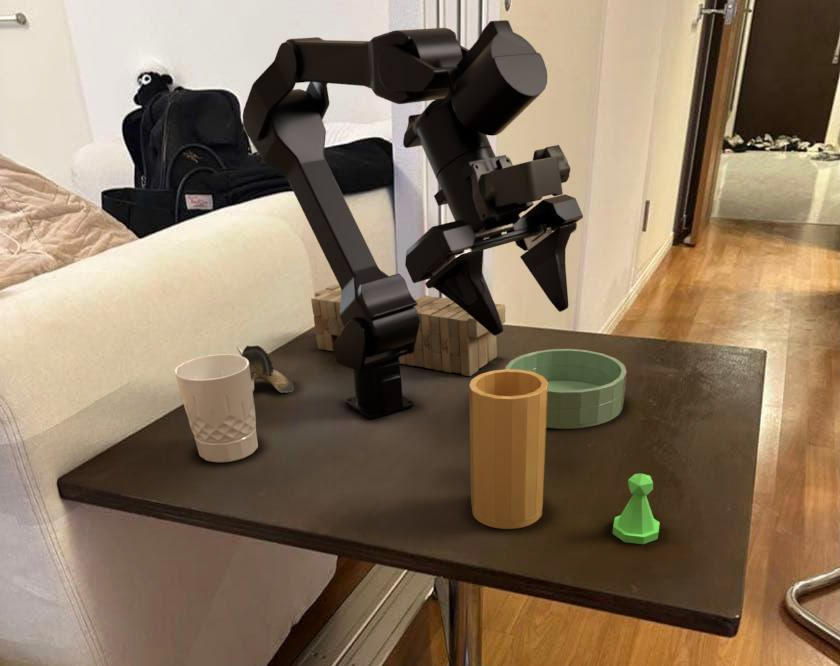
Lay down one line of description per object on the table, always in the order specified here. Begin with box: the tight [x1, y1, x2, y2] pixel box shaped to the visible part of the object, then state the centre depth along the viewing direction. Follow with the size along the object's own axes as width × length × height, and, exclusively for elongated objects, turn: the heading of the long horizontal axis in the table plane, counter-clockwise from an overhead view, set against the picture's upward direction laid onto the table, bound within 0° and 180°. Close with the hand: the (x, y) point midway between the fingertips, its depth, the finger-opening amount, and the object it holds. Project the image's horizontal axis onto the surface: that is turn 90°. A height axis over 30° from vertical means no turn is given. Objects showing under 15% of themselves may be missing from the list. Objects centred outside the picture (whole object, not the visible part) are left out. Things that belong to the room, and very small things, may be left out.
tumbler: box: [468, 368, 548, 530], centre depth 73 cm, size 7×7×13 cm
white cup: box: [174, 353, 259, 463], centre depth 88 cm, size 8×8×10 cm
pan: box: [504, 348, 628, 430], centre depth 96 cm, size 14×14×4 cm
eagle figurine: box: [236, 345, 295, 394], centre depth 104 cm, size 8×7×9 cm
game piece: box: [612, 473, 660, 545], centre depth 70 cm, size 4×4×6 cm
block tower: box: [310, 283, 506, 377], centre depth 113 cm, size 8×8×29 cm
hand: (532, 321), depth 75 cm, fingers open, 9 cm apart
